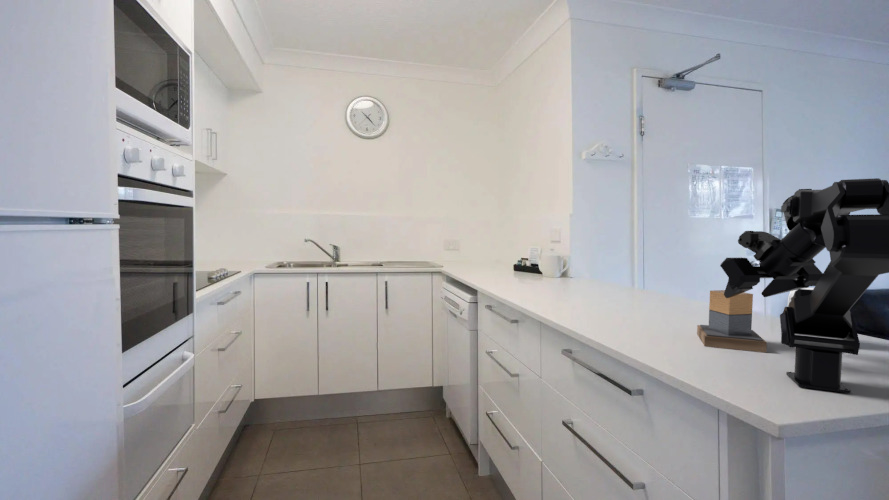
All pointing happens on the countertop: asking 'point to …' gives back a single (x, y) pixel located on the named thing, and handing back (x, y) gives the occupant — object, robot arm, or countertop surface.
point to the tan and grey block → (730, 313)
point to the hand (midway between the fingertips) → (744, 295)
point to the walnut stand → (731, 340)
